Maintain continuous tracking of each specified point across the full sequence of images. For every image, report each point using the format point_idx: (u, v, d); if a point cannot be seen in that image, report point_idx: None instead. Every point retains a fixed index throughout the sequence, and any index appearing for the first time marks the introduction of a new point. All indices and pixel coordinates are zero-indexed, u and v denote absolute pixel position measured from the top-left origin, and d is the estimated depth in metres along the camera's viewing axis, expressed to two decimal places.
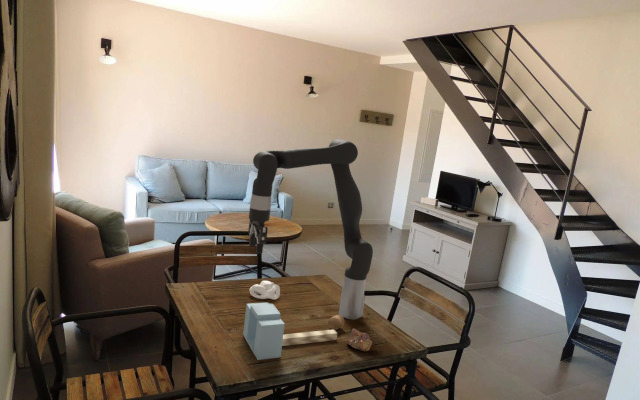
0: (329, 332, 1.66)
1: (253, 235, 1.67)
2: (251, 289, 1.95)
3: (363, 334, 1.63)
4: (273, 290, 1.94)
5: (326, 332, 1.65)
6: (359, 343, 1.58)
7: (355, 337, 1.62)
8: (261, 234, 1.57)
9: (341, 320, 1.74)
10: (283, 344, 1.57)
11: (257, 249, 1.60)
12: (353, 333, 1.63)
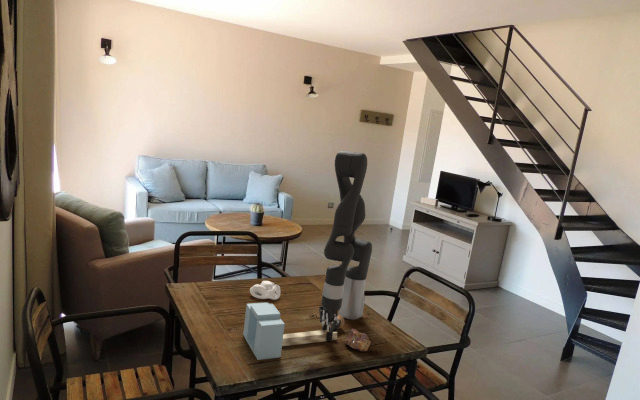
0: None
1: (326, 325, 1.67)
2: (251, 289, 1.95)
3: (362, 334, 1.63)
4: (273, 290, 1.94)
5: (326, 332, 1.65)
6: (358, 343, 1.58)
7: (353, 337, 1.61)
8: (334, 326, 1.59)
9: (341, 320, 1.74)
10: (283, 344, 1.56)
11: (327, 337, 1.63)
12: (352, 333, 1.63)
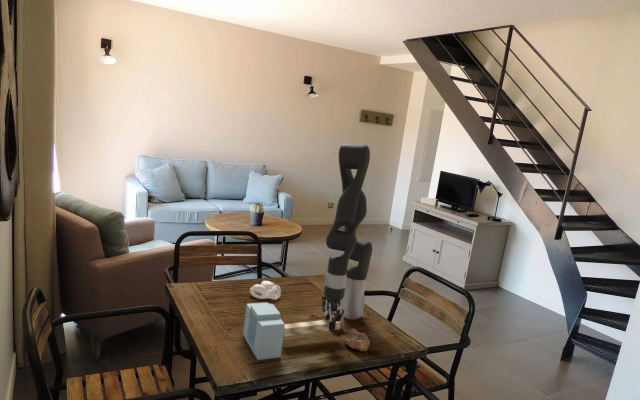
0: None
1: (328, 315, 1.66)
2: (252, 289, 1.95)
3: (361, 334, 1.63)
4: (273, 290, 1.94)
5: (329, 321, 1.65)
6: (357, 343, 1.58)
7: (353, 337, 1.61)
8: (337, 316, 1.59)
9: (341, 320, 1.74)
10: (286, 334, 1.56)
11: (330, 326, 1.63)
12: (351, 333, 1.63)
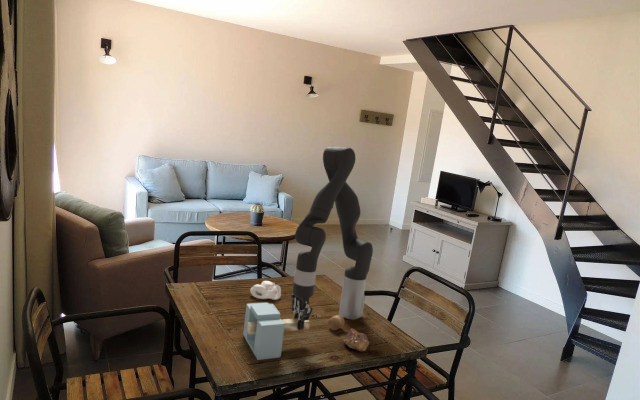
0: None
1: (297, 313, 1.60)
2: (252, 289, 1.95)
3: (360, 334, 1.62)
4: (274, 290, 1.94)
5: None
6: (356, 343, 1.58)
7: (352, 337, 1.61)
8: (305, 314, 1.53)
9: (341, 320, 1.74)
10: (251, 332, 1.50)
11: (298, 325, 1.57)
12: (350, 333, 1.63)
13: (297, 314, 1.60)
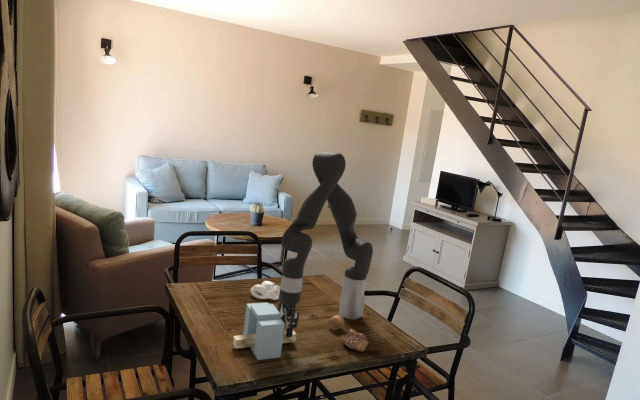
0: None
1: (283, 317, 1.60)
2: (252, 289, 1.95)
3: (359, 334, 1.62)
4: (274, 290, 1.94)
5: (285, 333, 1.57)
6: (354, 343, 1.58)
7: (351, 337, 1.61)
8: (292, 320, 1.50)
9: (341, 320, 1.74)
10: (237, 346, 1.49)
11: (287, 333, 1.54)
12: (349, 333, 1.63)
13: (282, 318, 1.60)
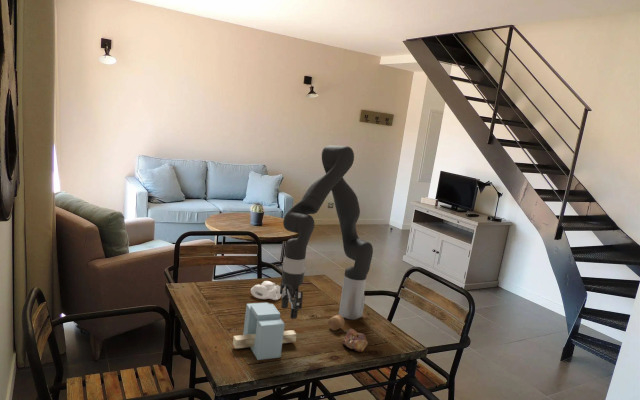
0: (288, 333, 1.58)
1: (285, 296, 1.59)
2: (252, 289, 1.95)
3: (359, 334, 1.62)
4: (274, 290, 1.94)
5: (285, 333, 1.57)
6: (354, 343, 1.58)
7: (350, 337, 1.61)
8: (296, 300, 1.49)
9: (341, 320, 1.74)
10: (237, 346, 1.49)
11: (291, 314, 1.52)
12: (349, 333, 1.63)
13: (285, 297, 1.59)
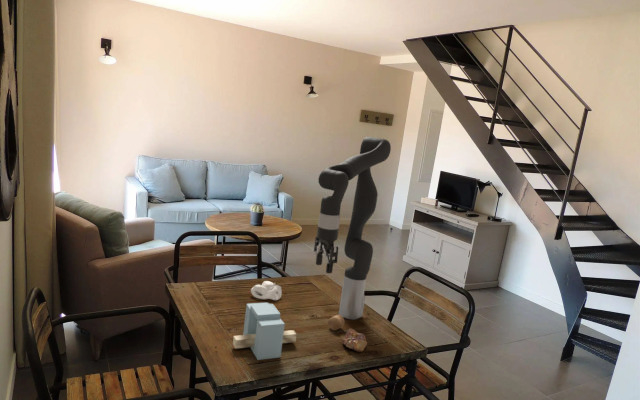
0: (288, 333, 1.58)
1: (320, 253, 1.65)
2: (252, 289, 1.95)
3: (358, 334, 1.62)
4: (274, 291, 1.94)
5: (285, 333, 1.57)
6: (353, 343, 1.58)
7: (350, 337, 1.61)
8: (332, 254, 1.54)
9: (341, 320, 1.74)
10: (237, 346, 1.49)
11: (327, 269, 1.57)
12: (348, 333, 1.63)
13: (319, 254, 1.65)
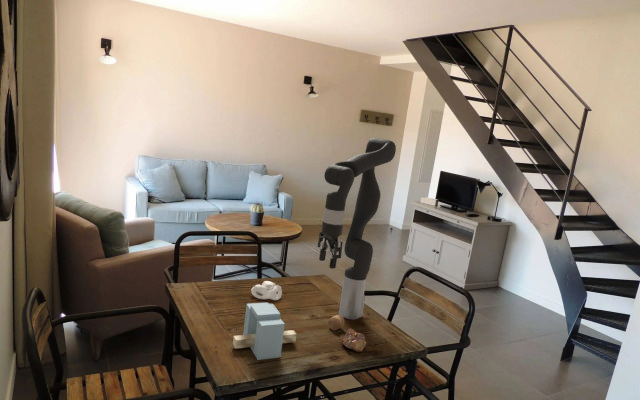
0: (288, 333, 1.58)
1: (323, 249, 1.66)
2: (253, 289, 1.95)
3: (358, 334, 1.62)
4: (274, 291, 1.94)
5: (285, 333, 1.57)
6: (352, 343, 1.58)
7: (349, 337, 1.61)
8: (336, 249, 1.55)
9: (341, 320, 1.74)
10: (237, 346, 1.49)
11: (331, 264, 1.58)
12: (348, 333, 1.63)
13: (322, 250, 1.66)
